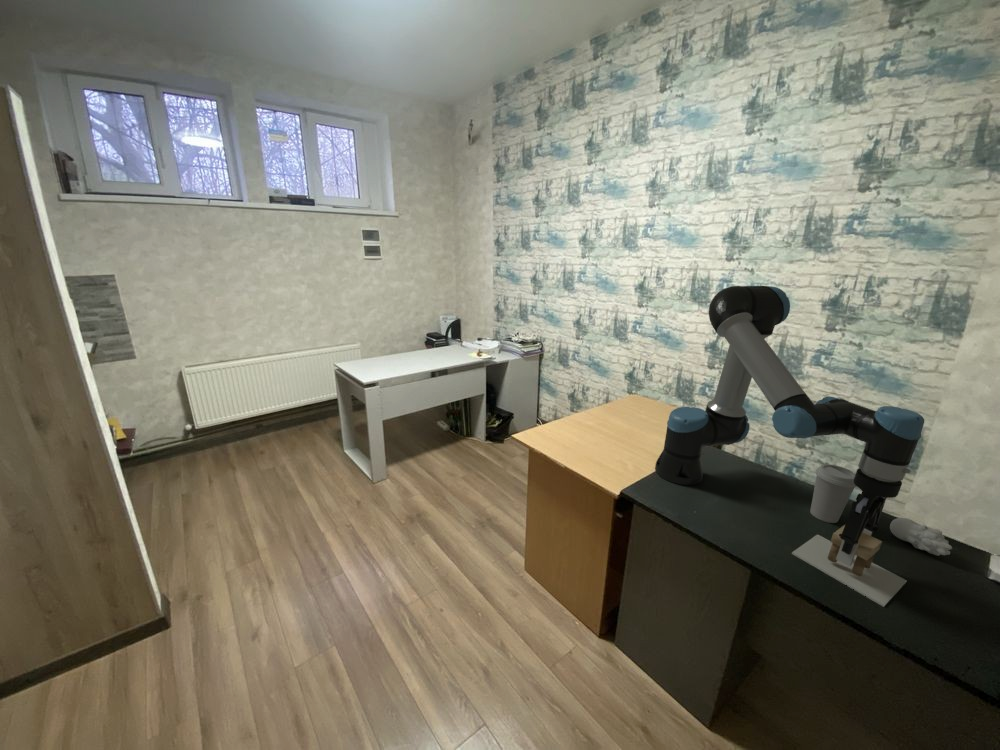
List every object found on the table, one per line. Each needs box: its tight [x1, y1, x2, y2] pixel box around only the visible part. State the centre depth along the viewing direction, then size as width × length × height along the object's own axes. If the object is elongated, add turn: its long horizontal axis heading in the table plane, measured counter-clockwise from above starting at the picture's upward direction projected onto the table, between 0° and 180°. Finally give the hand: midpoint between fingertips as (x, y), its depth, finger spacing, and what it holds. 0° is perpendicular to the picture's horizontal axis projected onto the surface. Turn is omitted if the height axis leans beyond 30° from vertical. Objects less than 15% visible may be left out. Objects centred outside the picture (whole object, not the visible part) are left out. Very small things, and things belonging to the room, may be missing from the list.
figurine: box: [889, 517, 953, 556], centre depth 102 cm, size 7×7×12 cm
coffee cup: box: [809, 463, 858, 524], centre depth 112 cm, size 10×10×15 cm
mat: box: [791, 534, 908, 608], centre depth 95 cm, size 18×14×1 cm
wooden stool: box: [828, 524, 883, 576], centre depth 94 cm, size 7×7×8 cm
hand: (850, 556), depth 94 cm, fingers closed on wooden stool, 7 cm apart
